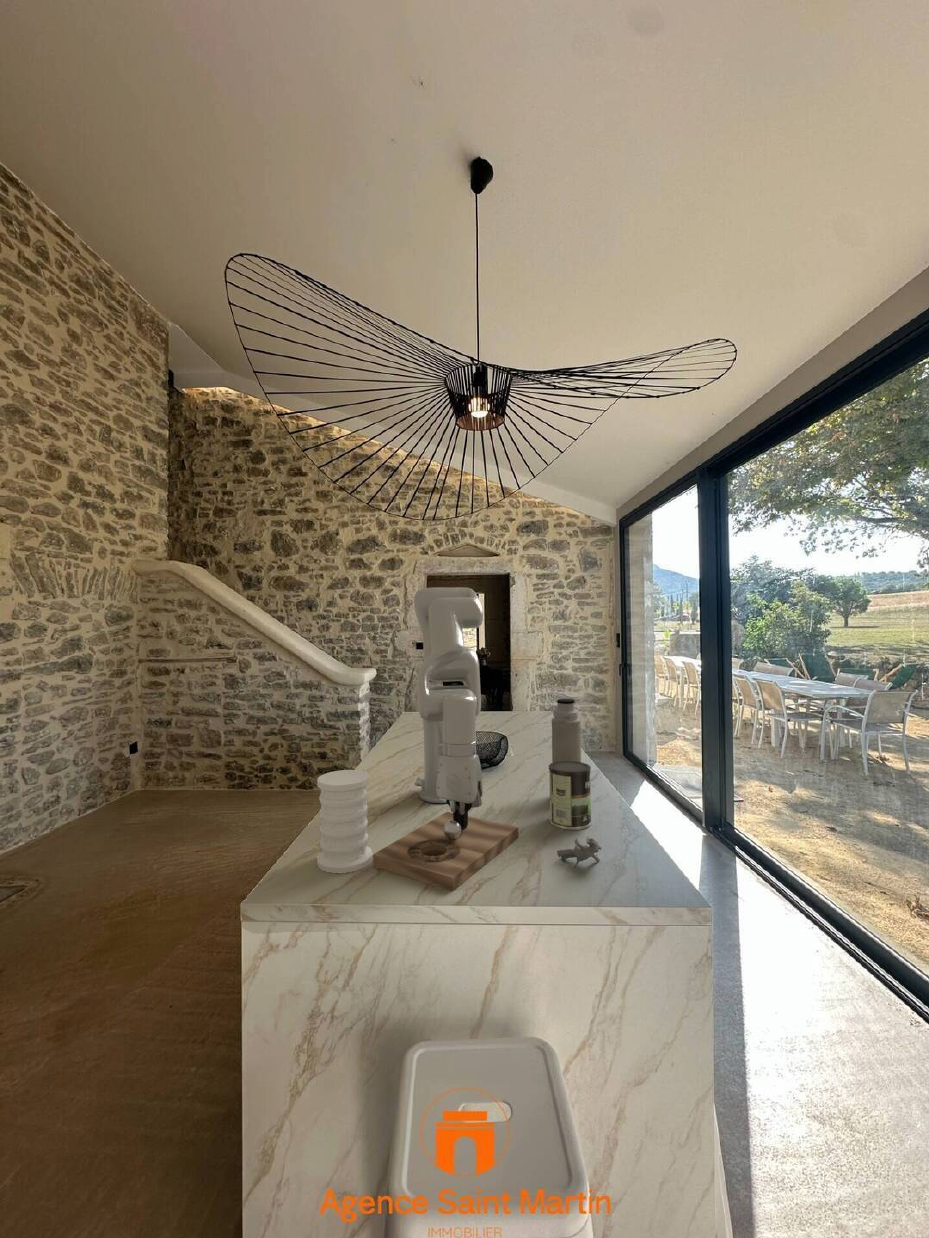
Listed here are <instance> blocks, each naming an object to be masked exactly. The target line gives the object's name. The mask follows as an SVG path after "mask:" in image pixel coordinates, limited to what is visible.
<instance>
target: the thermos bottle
mask: <svg viewBox="0 0 929 1238" xmlns="http://www.w3.org/2000/svg"><path fill="white" fill-rule="evenodd" d="M575 702H576V701H575V699H573V698H558V699H556V703H557V704H556V706H557V707H556V709H555V710H554V711H553V718H551V751H552V753H551V756H552V757H551V759H552V760H551V761H552V762H551V763H554V762H558V761H576V762H582V737H581V736H582V735H581V734H582V733H581V729H582V728H581V723H582V722H581V719H580V718H579V711H578V710H577V709H575V707H576V706H575Z"/></svg>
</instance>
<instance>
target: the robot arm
mask: <svg viewBox="0 0 929 1238" xmlns="http://www.w3.org/2000/svg"><path fill="white" fill-rule="evenodd" d="M413 606H414V608H413V609H414V613H415V616H416V619H417V622H418V624H419V626H420V627H419V628H420V629H421V633H422V640H423V641H422V645H423V646H422V647H423V648H422V649H423V663H422V665H421V667H420V668H419V672H418V674H417V677H416V696H417V697H416V699H417V700H416V701H417V711H418V714H419V717H420V718H421V719H422V725H423V752H424V753H423V756H424V757H423V758H424V759H423V760H424V761H423V763H424V765H423V766H424V777H421V776H417V777H416V780H415V782H414V785H415V786H416V787H421V790H420V791H419V799H421V801H424V802H427V803H433V804H447V805H448V806H449V807H450V811H451V813H453V820H455V821H457V822H458V823H459V824H460V826H461V831H463V830H464V829H466V828H467V826H468V816H469V811H471V809H472V808H475V809H476V808H479V807H482V805H483V801H482V796H483V793H484V792H483V791H484V790H483V775H482V774H483V773H482V766H481V762H480V761H481V760H480V758H479V757H480V756H479V754H477V745H476V744H477V742H476V741H477V737H476V736H477V733H476V731H477V730H476V724H477V723H476V718H477V717H478V716H479V715H480V713H481V710H482V709H481V708H482V694H481V677H480V675H481V673H480V663H479V662H480V661H479V658H478V657H479V656H478V654H477V652H476V651H474V650H473V649H471V648H467V647H465V640H464V632H463V629H478V628H480V627H481V626H482V623H483V621H484V608H483V605H482V603H481V600H480V598H479V596H478V595H477V594H476V591H475V590H473V588H469V587H461V586H460V587H444V586H443V587H442V586H441V587H440V586H439V587H426V588H421V589H419V590H418V591H416V592H415V594H414V597H413ZM429 681H432V682H462V683H463V685H442V686H441V685H440V686H439V685H437V686H432V687H431V686H430V687H429Z"/></svg>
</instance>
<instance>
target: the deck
mask: <svg viewBox="0 0 929 1238" xmlns="http://www.w3.org/2000/svg"><path fill="white" fill-rule="evenodd" d="M450 820H453V812H450V811H446V812H444V813H443V814H441V815H439V816H438V817H435V818H434V819H432V820H430V821H428V822H427V823H425V824H423V825H421V826H419V827H418V828H416V829H414V830H412V831H411V832H409V833H408V834H406V835H404V836H402V837H400V838H398V839H397V840H395V841H394V842H392V843H390V844H389V845H387V846H385V847H384V848H381V849H379V850H378V851H376V852H375V853H372V867H374V868H377V869H380V870H384V871H387V872H390V873H394V874H397V875H399V876H402V877H403V876H404V877H406V878H409V879H412V880H416V881H419V882H423V883H426V884H430V885H431V886H436V887H439V888H441V889H445V890H448V891H451V892H453V891H455V890H456V889H457V888H459V887H460V886H462V884H463V883H465V882H467V880H469V879H470V878H471V877H472V876H473V875H475V874H476V873H478V871H480V869H481V870H482V868H483V867H484V866H486V865H487V864H489V863H490V862H491V861H492V860H493V859H494V858H496V856H498V855H499V854H501V853H502V852H503V851H504V850H506V848H508V847H509V846H511V844H513V843H514V842H516V841H517V839H519V827H518V826H514V825H512V824H511V825H510V824H506V823H505V824H504V823H501V822H497V821H491V820H487V819H482V818H478V817H473V816H469V815H468V826H467V828H466V829H464V830H463V831H461V834H460V835H459V837H458V838H456V839H449V838H447V837H446V836H445V835H444V832H443V828H444V825H445V824H446V822H448V821H450Z"/></svg>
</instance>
